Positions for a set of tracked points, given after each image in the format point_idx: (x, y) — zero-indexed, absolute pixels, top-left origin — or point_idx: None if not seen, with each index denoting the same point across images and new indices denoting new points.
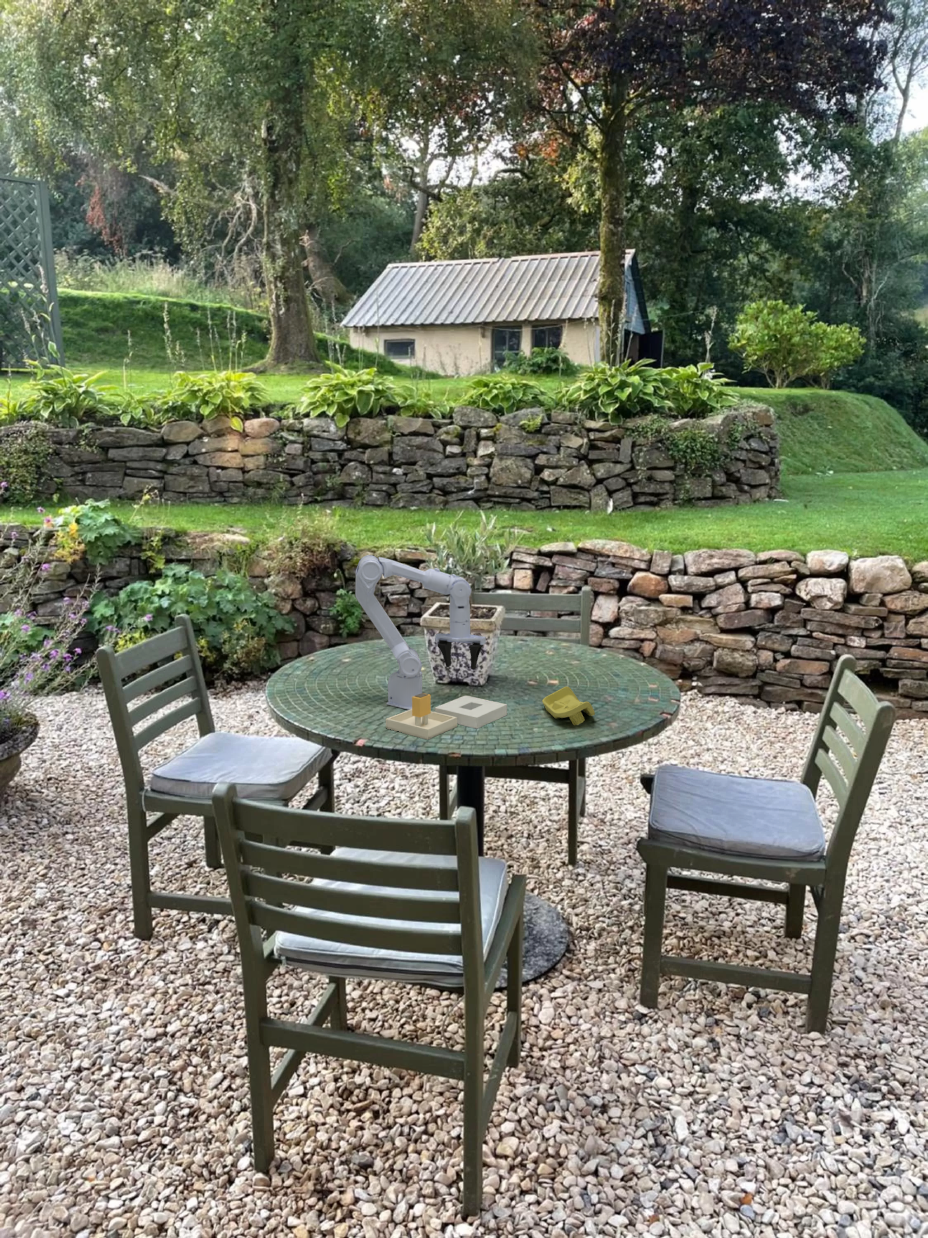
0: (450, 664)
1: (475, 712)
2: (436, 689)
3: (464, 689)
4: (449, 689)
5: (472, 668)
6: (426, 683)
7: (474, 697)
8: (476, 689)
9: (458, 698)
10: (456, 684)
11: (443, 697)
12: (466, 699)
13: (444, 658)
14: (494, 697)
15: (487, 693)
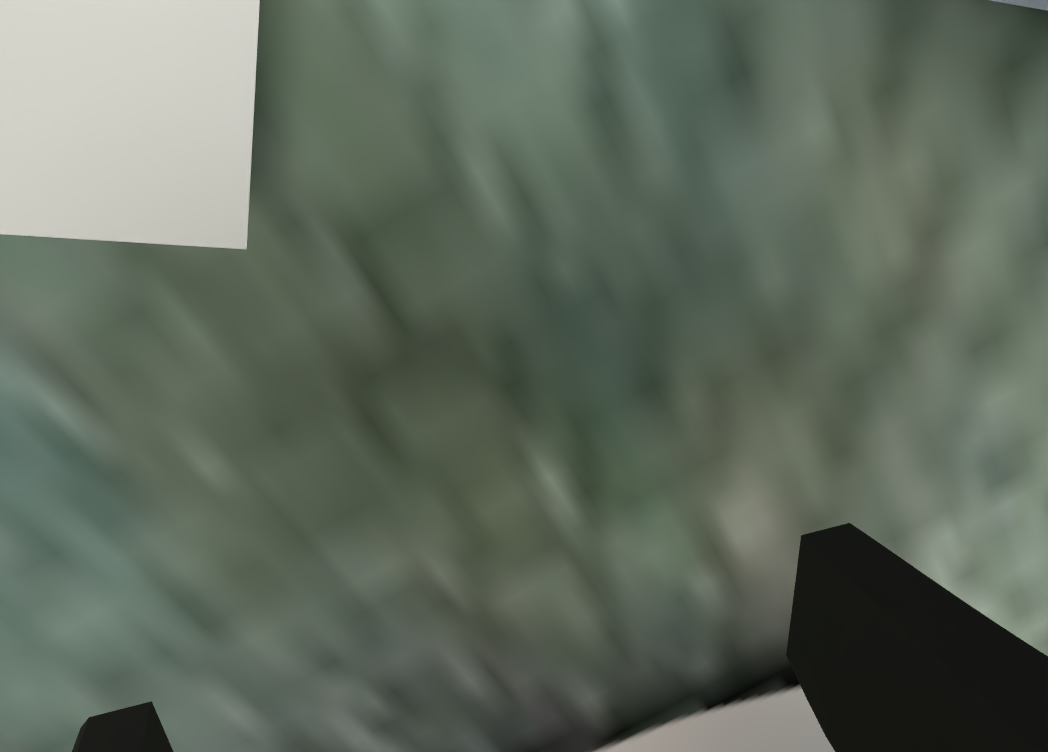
0: (804, 664)
1: None
2: (865, 496)
3: (590, 643)
4: (736, 565)
5: (103, 730)
6: (1006, 575)
7: (14, 226)
8: (476, 704)
9: (245, 13)
10: (727, 698)
11: (696, 320)
12: (59, 34)
13: (1042, 667)
14: (126, 633)
15: (294, 682)
